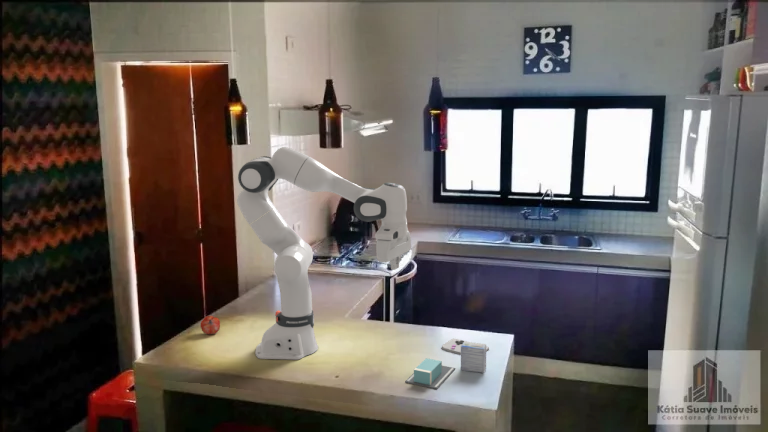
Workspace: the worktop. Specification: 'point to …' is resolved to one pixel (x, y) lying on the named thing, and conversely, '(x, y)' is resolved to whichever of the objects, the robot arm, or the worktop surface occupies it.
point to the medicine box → (473, 357)
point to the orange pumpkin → (210, 325)
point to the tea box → (427, 371)
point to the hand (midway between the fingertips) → (395, 268)
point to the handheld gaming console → (455, 346)
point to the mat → (438, 381)
